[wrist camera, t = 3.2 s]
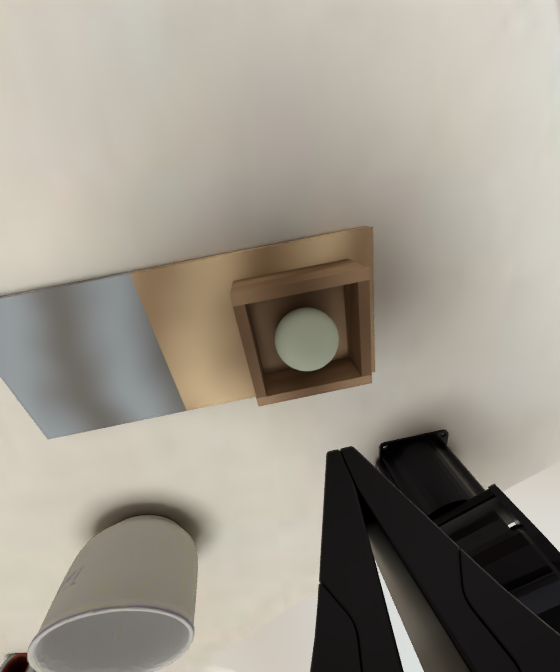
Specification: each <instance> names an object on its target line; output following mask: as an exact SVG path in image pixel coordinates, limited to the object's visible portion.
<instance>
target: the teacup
mask: <svg viewBox="0 0 560 672" xmlns="http://www.w3.org/2000/svg"><path fill="white" fill-rule="evenodd" d="M197 573H198V557H197V550H196V547H195V544H194V542H193V540H192V538H191V537H190V535H189V534H188V533H187V532H186V531H185V530H183V529H182V528H181V527H180V526H179V525H178V524H177V523H175V522H174V521H172V520H170V519H168V518H165V517H161V516H155V515H140V516H136V517H131V518H128V519H125V520H123V521H121V522H119V523H117V524H115V525H113V526H111V527H109V528H107V529H105V530H103V531H101V532H100V533H98V534H97V535H96V536H94V537H93V538H92V539H91V540H90V541H89V542H88V543H87V544H86V545H85V546H84V547H83V548H82V550H81V551H80V552H79V554H78V555H77V557H76V558H75V560H74V562H73V563H72V565H71V567H70V569H69V571H68V572H67V574H66V576H65V578H64V580H63V582H62V584H61V586H60V588H59V590H58V592H57V594H56V596H55V598H54V600H53V602H52V605H51V607H50V609H49V611H48V613H47V615H46V617H45V619H44V621H43V624H42V626H41V628H40V630H39V632H38V634H37V635H36V636H35V637H34V639H33V640H32V642H31V644H30V646H29V649H28V653H27V659H28V662H29V664H30V666H31V667H32V668H33V669H34V670H35V671H36V672H154V671H156V670H159V669H161V668H163V667H165V666H167V665H169V664H171V663H173V662H174V661H176V660H177V659H178V658H179V657H181V656H182V655H183V654H184V653H185V652H186V651H187V650H188V649H189V647H190V646H191V644H192V641H193V639H194V613H195V603H196V590H197Z"/></svg>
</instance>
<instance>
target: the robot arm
mask: <svg viewBox="0 0 560 672" xmlns="http://www.w3.org/2000/svg"><path fill="white" fill-rule="evenodd" d="M443 433H445V434H444V435H442V436H441V434H443ZM447 441H448V432H447V431H446V430H439V431H435V432H430V433H425V434H421V435H416V436H411V437H407V438H402V439H397V440H393V441H388V442H384V443H382V444H381V445H380V446H379V461H377V463H376V468H375V467H374V466H373V465H372V464H371V463H370V462H369V461H368V460H367V459H366V458H365V457H364V456H363V455H362V454H361V453H359V452H358V451H357V450H356V449H355V448H354V447H352V446H349V447H345V448H341V449H340V450H333V451H329V452H327V454H326V470H325V488H324V505H323V522H322V539H321V556H320V573H319V582H320V584H319V587H318V605H317V617H316V628H315V639H314V646H313V654H312V662H311V669H310V672H404V671H403V668H402V664H401V660H400V656H399V652H398V648H397V645H396V640H395V637H394V633H393V629H392V625H391V621H390V617H389V613H388V610H387V606H386V602H385V598H384V594H383V590H382V587H381V583H380V579H379V575H378V571H377V567H376V563H375V560H376V562H377V565H378V567H379V569H380V572H381V574H382V576H383V579H384V580H385V583H386V585H387V587H388V590H389V592H390V594H391V597H392V599H393V601H394V604H395V606H396V608H397V611H398V613H399V615H400V617H401V620H402V622H403V624H404V627H405V629H406V631H407V634H408V636H409V638H410V640H411V643H412V645H413V647H414V649H415V652H416V654H417V656H418V658H419V661H420V663H421V666H422V668H423V670H424V672H560V552H559V551H558V550H557V549H556V548H555V547H554V546H553V545H552V544H551V542H550V541H549V540H548V539H547V538H546V537H545V536H544V535H543V534H542V533H541V532H540V531H539V530H538V529H537V528H536V527H535V525H534V524H533V523H532V522H531V521H530V520H529V519H528V518H527V517H526V516H525V515H524V514H523V513H522V512H521V511H520V510H519V509H518V508H517V507H516V506H515V505H514V504H513V503H512V501H510V499H509V498H508V497H507V496H506V495H505V494H504V493H503V492H502V491H501V490H500V489H499V488H498V487H497V486H496V485H495V484H493V485H491V486H489V487H488V488H489V489H487V490H485V489H484V488H483V487H482V486H481V485H480V484H479V482H478V481H477V480H476V479H475V478H474V477H473V475H472V474H471V473H470V472H469V471H468V470H467V468H466V467H465V466H464V465H463V464H462V463H461V461H460V460H459V459H458V458H457V457H456V456H455V454H454V453H453V452H452V451H451V450H450V449H449V447H448V446H447ZM384 446H387V447H386V448H383V447H384ZM513 522H515V524H516V525H514V526H513V527H510V528H509V527H508V525H509V524H510V523H513ZM374 558H375V559H374Z"/></svg>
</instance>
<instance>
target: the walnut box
mask: <svg viewBox="0 0 560 672" xmlns="http://www.w3.org/2000/svg"><path fill="white" fill-rule="evenodd" d="M230 299H231V302H232V306H233V310H234V314H235V318H236V322H237V325H238V329H239V333H240V337H241V341H242V345H243V348H244V352H245V356H246V360H247V364H248V367H249V371H250V375H251V379H252V383H253V387H254V390H255V394H256V398H257V402H258V406H263V405H268V404H273V403H278V402H283V401H287V400H292V399H297V398H302V397H307V396H311V395H316V394H321V393H326V392H331V391H336V390H340V389H345V388H350V387H355V386H360V385H364V384H369V383H372V366H371V322H370V278H369V268H368V267H366V266H364V265H362V264H359V263H357V262H355V261H353V260H350V259H344V260H339V261H334V262H329V263H324V264H319V265H313V266H308V267H303V268H298V269H293V270H288V271H283V272H278V273H272V274H267V275H262V276H257V277H252V278H247V279H242V280H236V281H233V283H232V287H231V292H230ZM307 307H309V308H315V309H318V310H320V311H322V312H324V313H326V314H327V315H328V316H329V317H330V318H331V319H332V320H333V322H334V323H335V325H336V327H337V330H338V335H339V344H338V348H337V351H336V354H335V355H334V357H333V358H332V360H331V361H330V362H329V363H328V364H326V365H325V366H324V367H322V368H320V369H317V370H314V371H300V370H297V369H294V368H292V367H290V366H289V365H287V364H286V363H285V362H284V361H283V360H282V359H281V357H280V356H279V354H278V352H277V350H276V346H275V332H276V329H277V326H278V324H279V323H280V321H281V320H282V319H283V317H284V316H286V315H287V314H288V313H289V312H291V311H293V310H295V309H299V308H307Z"/></svg>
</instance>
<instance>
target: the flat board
mask: <svg viewBox="0 0 560 672" xmlns="http://www.w3.org/2000/svg"><path fill="white" fill-rule="evenodd" d="M344 259H350V260H353V261H355V262H357V263H359V264H362V265H364V266H366V267H368V268H369V278H370V322H371V366H372V372H375V347H374V285H373V227H366V226H365V227H360V228H355V229H350V230H344V231H339V232H334V233H329V234H324V235H318V236H313V237H308V238H303V239H298V240H292V241H287V242H282V243H277V244H271V245H266V246H261V247H256V248H251V249H245V250H240V251H235V252H230V253H225V254H219V255H214V256H209V257H204V258H199V259H193V260H188V261H183V262H178V263H173V264H167V265H162V266H157V267H152V268H147V269H141V270H136V271H131V272H126V273H121V274H115V275H110V276H105V277H100V278H95V279H89V280H84V281H79V282H74V283H69V284H63V285H58V286H53V287H48V288H43V289H37V290H32V291H27V292H22V293H17V294H11V295H6V296H1V297H0V377H1V378H2V380H3V381H4V382H5V384H6V385H7V386H8V387H9V389H10V390H11V391H12V393H13V394H14V395H15V397H16V398H17V399H18V401H19V402H20V403H21V405H22V406H23V407H24V409H25V410H26V411H27V413H28V414H29V415H30V417H31V418H32V419H33V421H34V422H35V423H36V424H37V426H38V427H39V428H40V430H41V431H42V432H43V434H44V435H45V436H46V438H47V439H52V438H57V437H62V436H67V435H72V434H77V433H81V432H86V431H91V430H96V429H101V428H106V427H110V426H115V425H120V424H125V423H130V422H135V421H139V420H144V419H149V418H154V417H159V416H164V415H169V414H173V413H178V412H183V411H188V410H193V409H198V408H202V407H207V406H212V405H217V404H222V403H227V402H231V401H236V400H241V399H246V398H251V397H256V394H255V390H254V387H253V383H252V379H251V375H250V371H249V367H248V364H247V360H246V356H245V352H244V348H243V345H242V341H241V337H240V333H239V329H238V325H237V322H236V318H235V314H234V310H233V306H232V302H231V299H230V292H231V287H232V283H233V281H236V280H242V279H247V278H252V277H257V276H262V275H267V274H272V273H278V272H283V271H288V270H293V269H298V268H303V267H308V266H313V265H319V264H324V263H329V262H334V261H339V260H344Z"/></svg>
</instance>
